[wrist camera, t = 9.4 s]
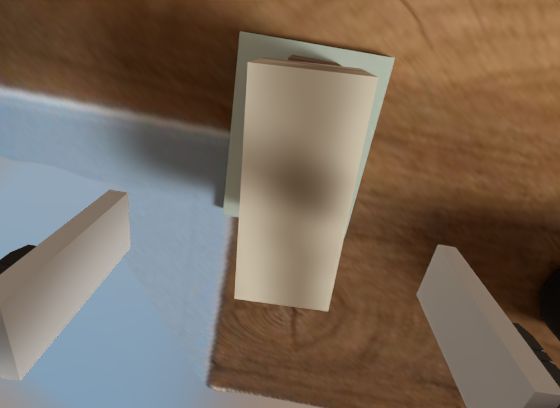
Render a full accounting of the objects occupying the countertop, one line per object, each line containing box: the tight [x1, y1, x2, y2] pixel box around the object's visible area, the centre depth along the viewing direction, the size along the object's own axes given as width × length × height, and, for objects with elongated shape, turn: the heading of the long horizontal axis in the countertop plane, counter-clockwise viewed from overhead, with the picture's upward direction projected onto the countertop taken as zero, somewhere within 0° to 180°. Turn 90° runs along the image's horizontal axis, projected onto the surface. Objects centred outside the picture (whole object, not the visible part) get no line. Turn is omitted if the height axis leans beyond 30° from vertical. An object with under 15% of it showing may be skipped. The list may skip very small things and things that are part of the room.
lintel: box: [234, 57, 378, 311], centre depth 21 cm, size 6×14×6 cm, turn 174°
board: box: [223, 31, 395, 236], centre depth 30 cm, size 12×16×1 cm
